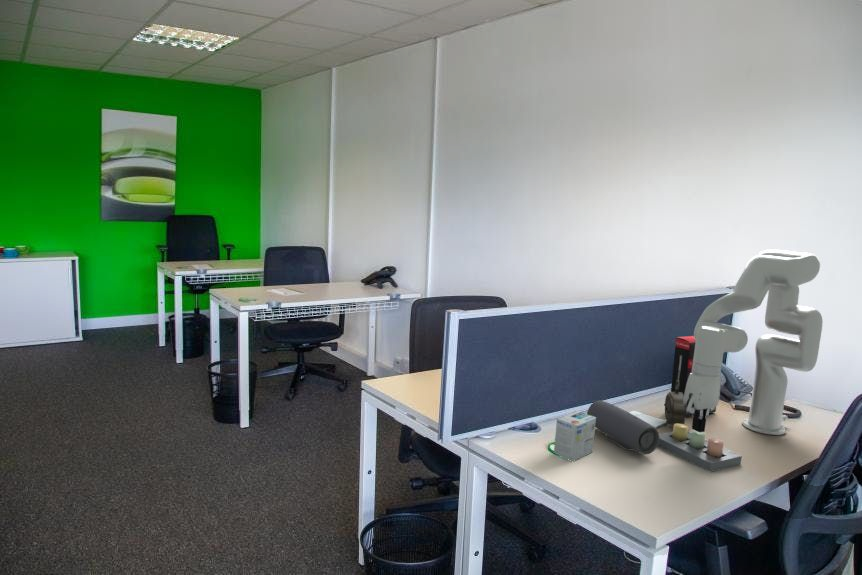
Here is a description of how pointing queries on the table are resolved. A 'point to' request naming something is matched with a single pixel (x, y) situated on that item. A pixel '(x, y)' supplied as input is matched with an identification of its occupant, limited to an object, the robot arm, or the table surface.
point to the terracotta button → (715, 448)
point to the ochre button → (680, 432)
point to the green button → (697, 439)
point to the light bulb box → (574, 435)
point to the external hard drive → (650, 419)
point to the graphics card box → (683, 364)
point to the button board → (698, 453)
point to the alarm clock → (675, 407)
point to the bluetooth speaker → (624, 427)
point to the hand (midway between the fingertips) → (698, 430)
